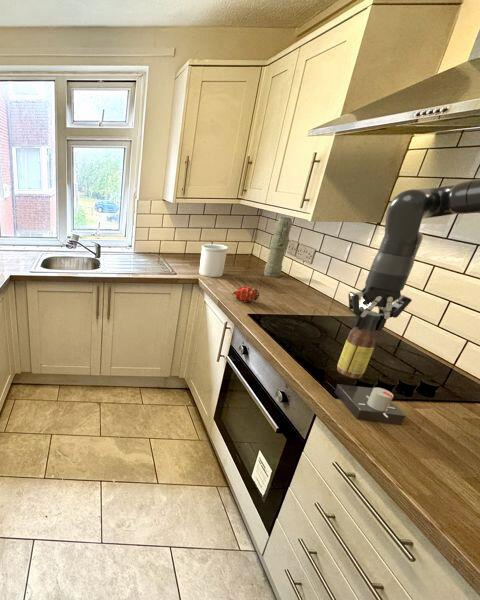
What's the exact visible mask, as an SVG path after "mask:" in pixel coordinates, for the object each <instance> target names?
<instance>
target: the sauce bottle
mask: <svg viewBox="0 0 480 600" xmlns="http://www.w3.org/2000/svg"><path fill="white" fill-rule="evenodd" d="M380 318H381V314H379V312H378V311H377V312H376V311H374V310H371V311H369V312H368V314H367V315H366V316H365V321H364V323H363V326H362V328H361V329H357V328H356V327H354V326H353V328H351V329H350V330H349V333H348V336H347V338H346V340H345V343H344V346H343V348H342V351H341V354H340V357H339V358H338V362H337V366H336V370H337V372H338V373H339V374H341V375H342V376H344V377H347V378H350V379H355V380H356V379H357V380H358V379H361V378H362V377H363V376H364V374H365V373H366V370H367V367H368V364H369V362H370V359H371V357H372V355H373V352H374V349H375V346H376V343H377V340H378V337H377V332H376V330H375V329H376V325H377V323H378V321H379V320H380Z"/></svg>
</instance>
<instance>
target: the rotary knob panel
mask: <svg viewBox="0 0 480 600" xmlns="http://www.w3.org/2000/svg"><path fill="white" fill-rule="evenodd" d="M373 388H374V387H368V386H367V387H366V386H357V385H349V384H340V383H337V385H336V386H335V390H334V394H335V395H336V396H337V398H338V399H339V400H340V401H341V402H342V404H343V405H344V406H345V407H346V409H348V411H349V412H350V413H351V414H352V415H353V417H354V418H355V419H356V420H360V421H369V422H375V423H384V424H391V425H397V426H402V425H403V422H404V421H405V419H406V414H405V413H403V412H402V411H401V410H400V409H399V408H398V407H397V406H396V405H395V404H394V403H393V402H392V401H391V403H390V405H389V407H388V409H387V411H384V412H383V411H378V410H375V409H373V408H371V407H370V406H369V405H368V404H367V401H368V399H369V396H370V394H371V392H372V390H373Z"/></svg>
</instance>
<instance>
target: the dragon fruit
mask: <svg viewBox="0 0 480 600" xmlns="http://www.w3.org/2000/svg"><path fill="white" fill-rule="evenodd" d="M232 295H234V299H236V300H238V301H240V302H242V301H243V303H244V304H245V303H251V302H252V301H256V302H257V300H258V299H259V297H260V292H259V291H258V289H256V288H254V287H253V286H252V285H250V286H247V285H244V286H241V287H238V289H236V290H235V291H233V293H232Z"/></svg>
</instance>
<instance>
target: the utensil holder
mask: <svg viewBox="0 0 480 600" xmlns="http://www.w3.org/2000/svg"><path fill="white" fill-rule="evenodd" d="M228 250H229V247H228V246H226V245H224V244H218V243H205V244H202V245H201V253H200V261H199V272H198V273H199V275H201V276H203V277H210V278H219V277H222V276H223V274H224V269H225V265H226V264H225V263H226V258H227V253H228Z"/></svg>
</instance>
